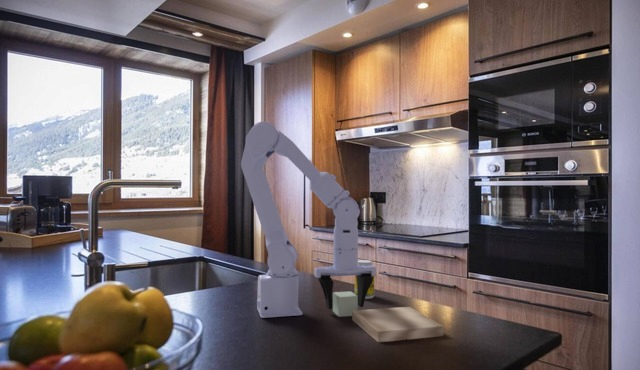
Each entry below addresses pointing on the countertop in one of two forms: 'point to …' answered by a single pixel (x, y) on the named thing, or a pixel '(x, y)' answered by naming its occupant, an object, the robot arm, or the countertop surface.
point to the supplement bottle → (371, 289)
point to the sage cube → (344, 303)
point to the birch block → (396, 324)
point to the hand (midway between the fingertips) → (345, 306)
